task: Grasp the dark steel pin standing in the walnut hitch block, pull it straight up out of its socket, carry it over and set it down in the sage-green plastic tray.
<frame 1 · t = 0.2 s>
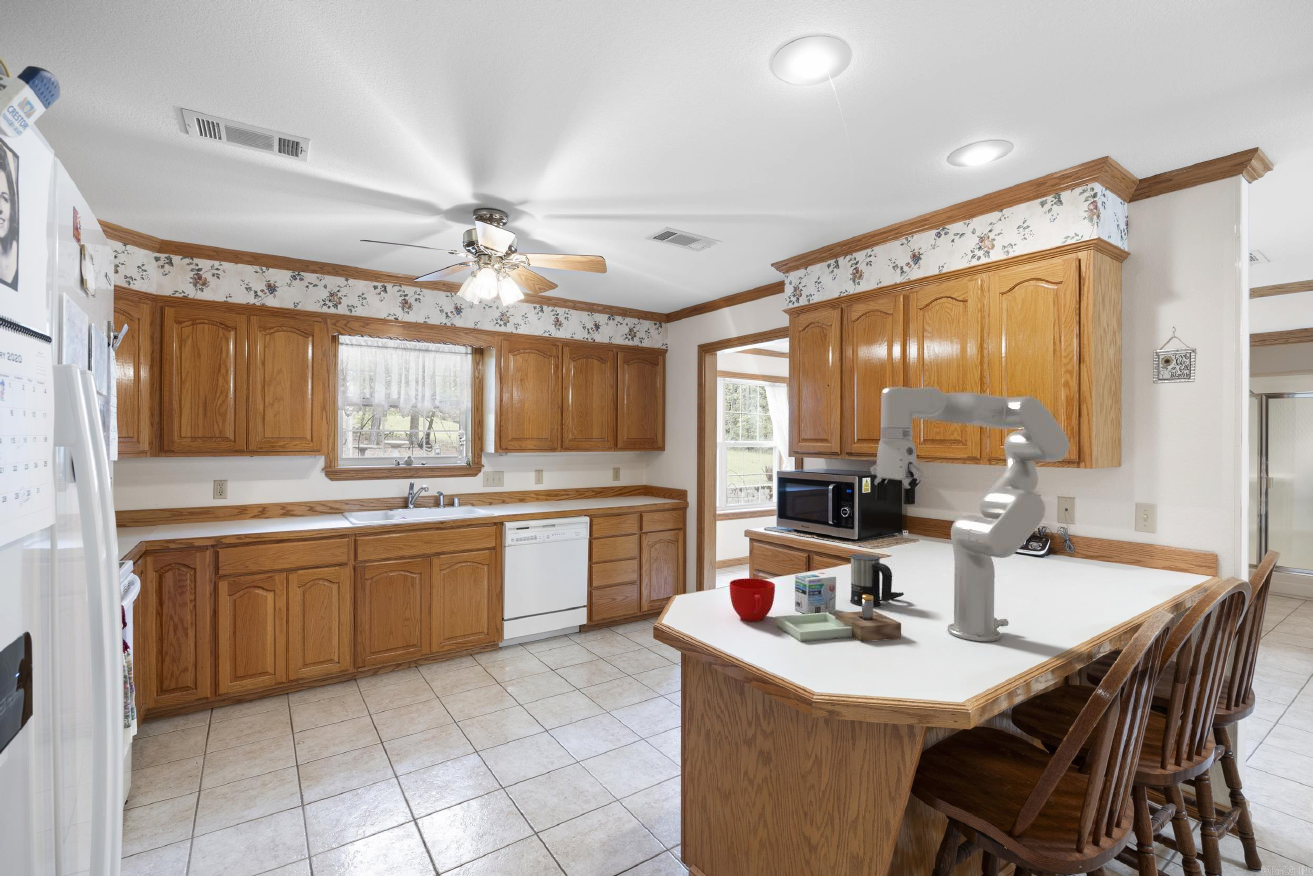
hand: (894, 502, 159), 36 cm above the table, tool pointing down, fingers open, 9 cm apart
hitch block: (867, 633, 165), on the table
ceramic cup: (753, 621, 176), on the table
light bulb box: (815, 611, 186), on the table
pin: (867, 614, 165), in the hitch block
tray: (814, 631, 167), on the table
milk frother: (876, 603, 196), on the table
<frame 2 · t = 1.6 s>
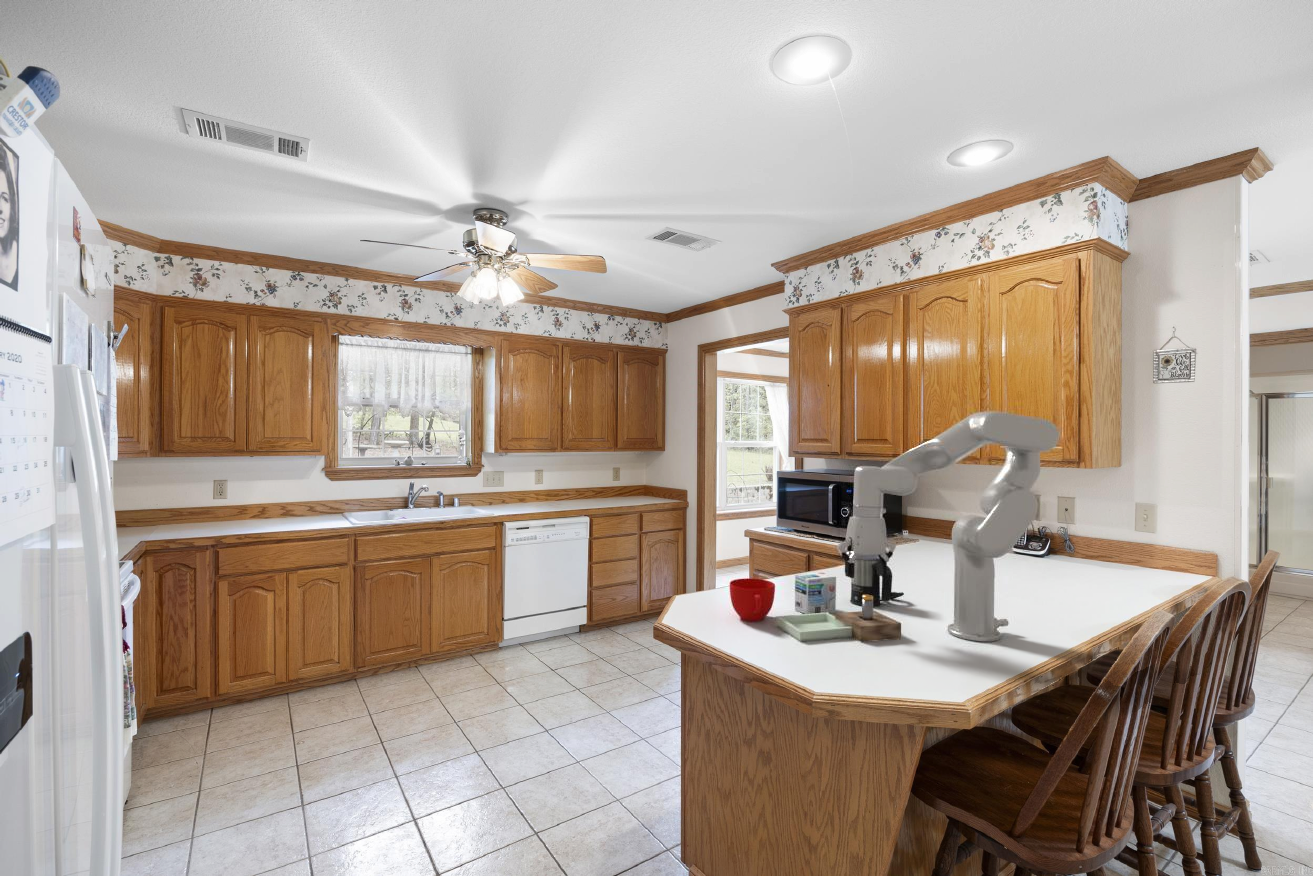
hand: (865, 576, 165), 15 cm above the table, tool pointing down, fingers open, 9 cm apart
nothing on the table moved.
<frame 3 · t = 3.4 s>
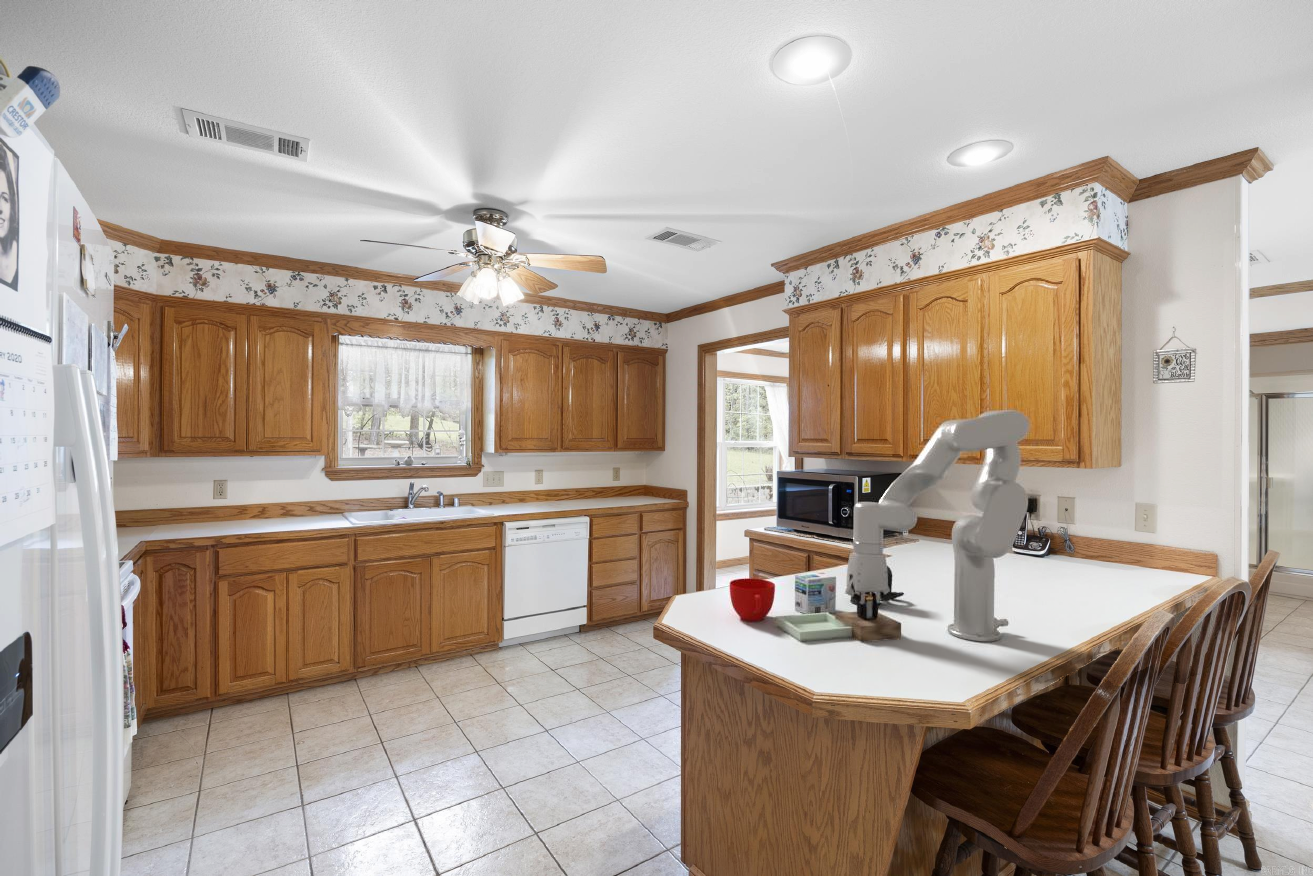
hand: (867, 616, 165), 4 cm above the table, tool pointing down, fingers closed on pin, 2 cm apart
pin: (867, 614, 165), in the hitch block, touching gripper
everything else where it was.
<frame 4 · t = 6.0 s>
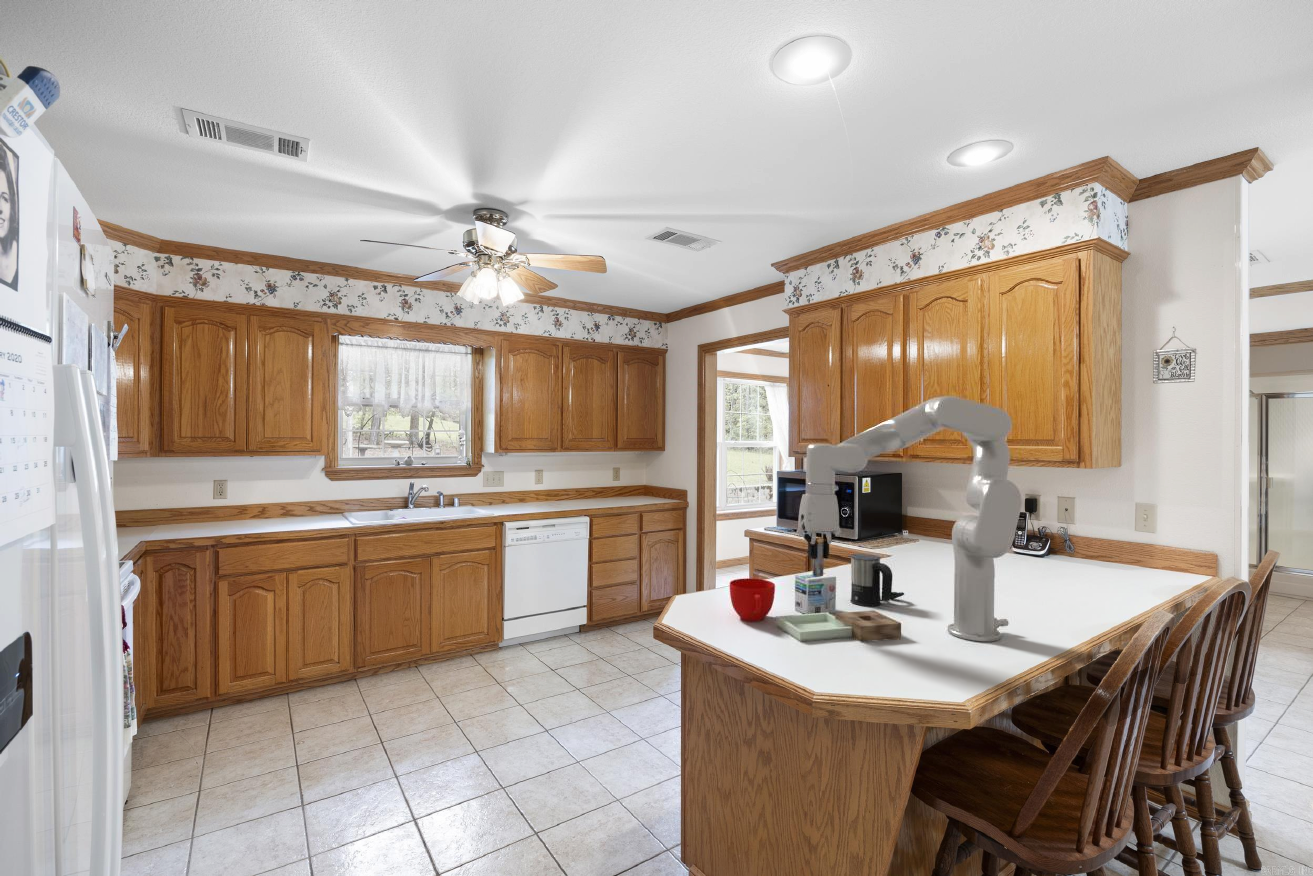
hand: (818, 557, 167), 20 cm above the table, tool pointing down, fingers closed on pin, 2 cm apart
pin: (818, 556, 167), point 20 cm above the table, touching gripper
everything else where it was.
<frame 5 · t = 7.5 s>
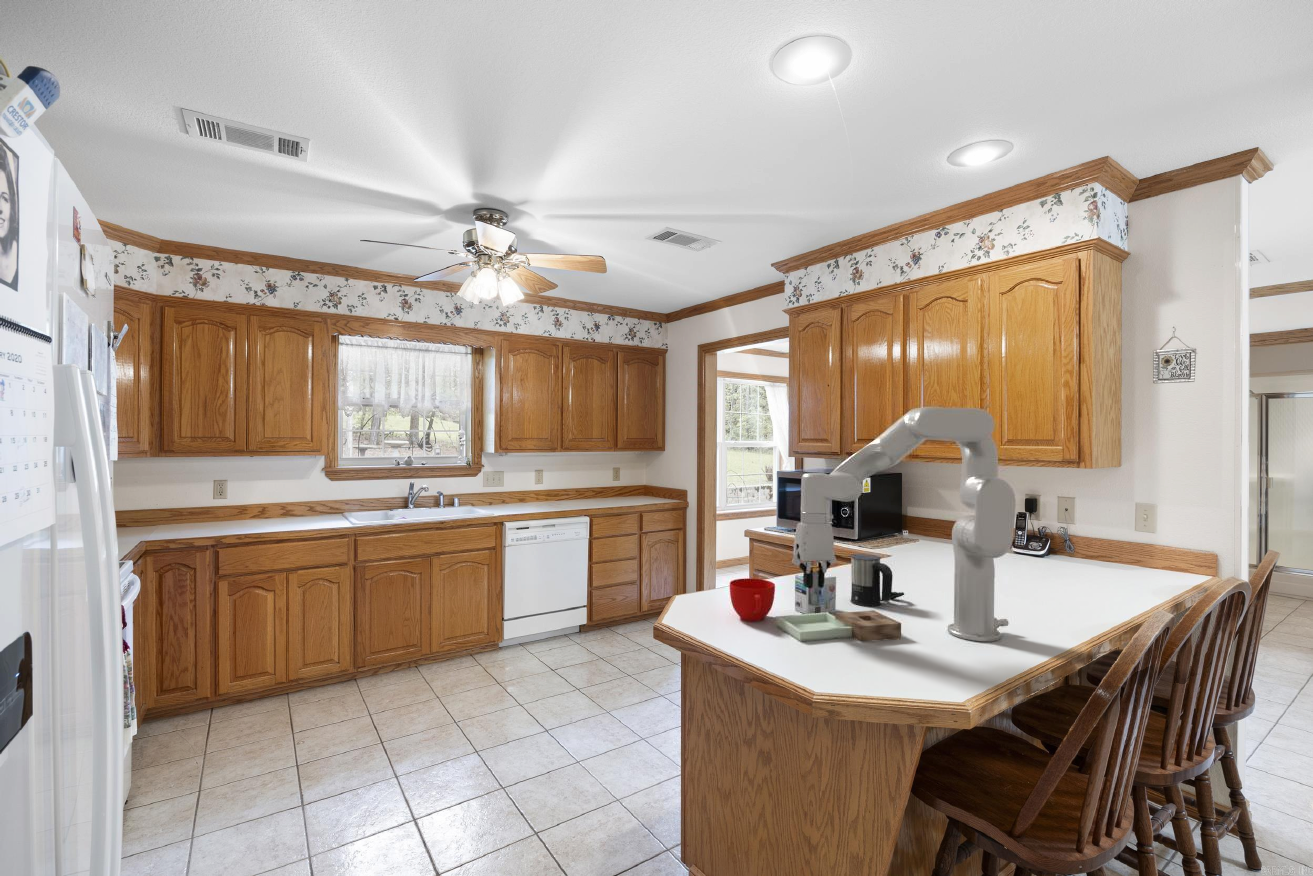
hand: (813, 586, 167), 12 cm above the table, tool pointing down, fingers closed on pin, 2 cm apart
pin: (813, 585, 167), point 12 cm above the table, touching gripper
everything else where it was.
when the fingers open (6 cm above the table, at t = 8.7 s): pin drops 1 cm, resting on tray.
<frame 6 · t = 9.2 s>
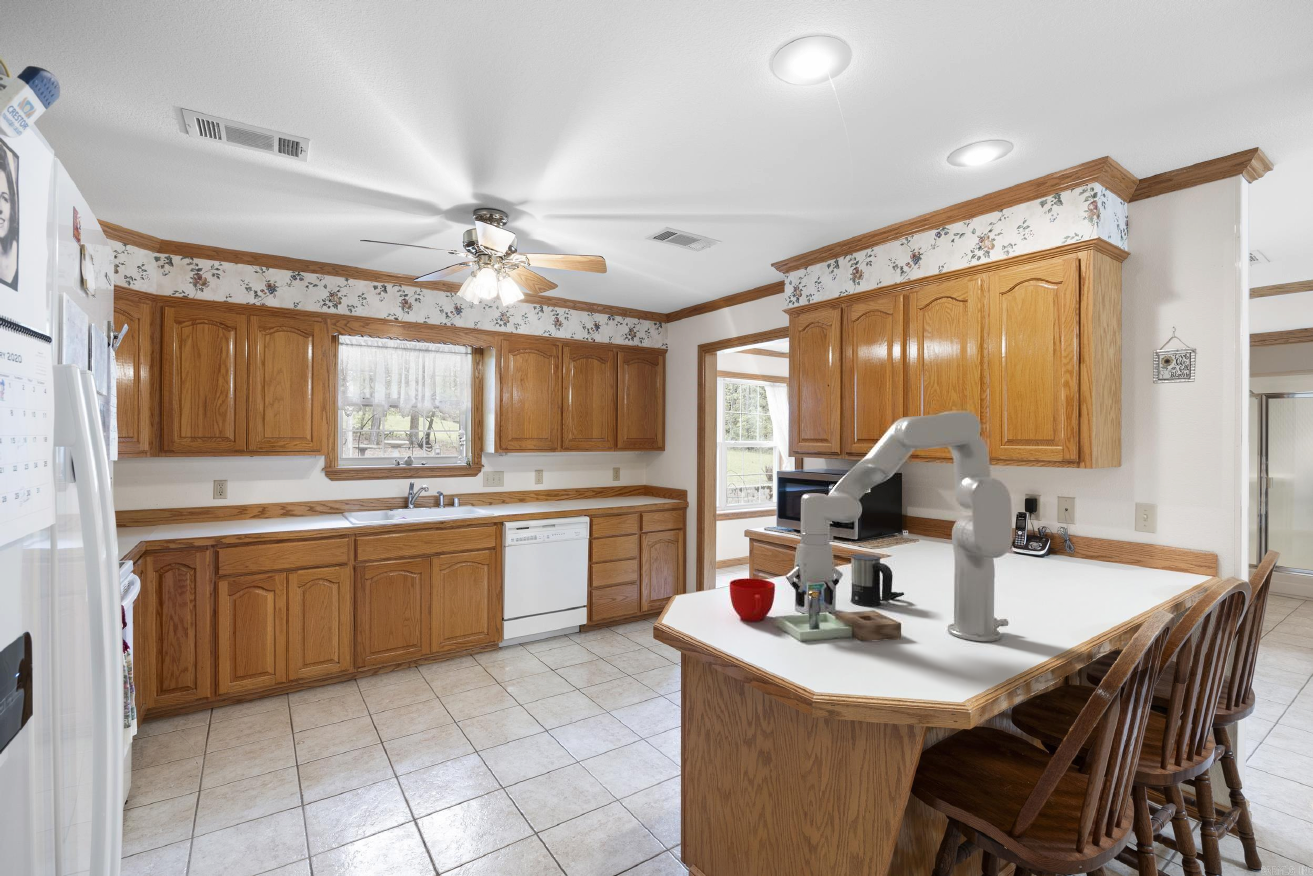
hand: (814, 604, 167), 7 cm above the table, tool pointing down, fingers open, 7 cm apart
pin: (814, 610, 167), in the tray, point 6 cm above the table
everything else where it was.
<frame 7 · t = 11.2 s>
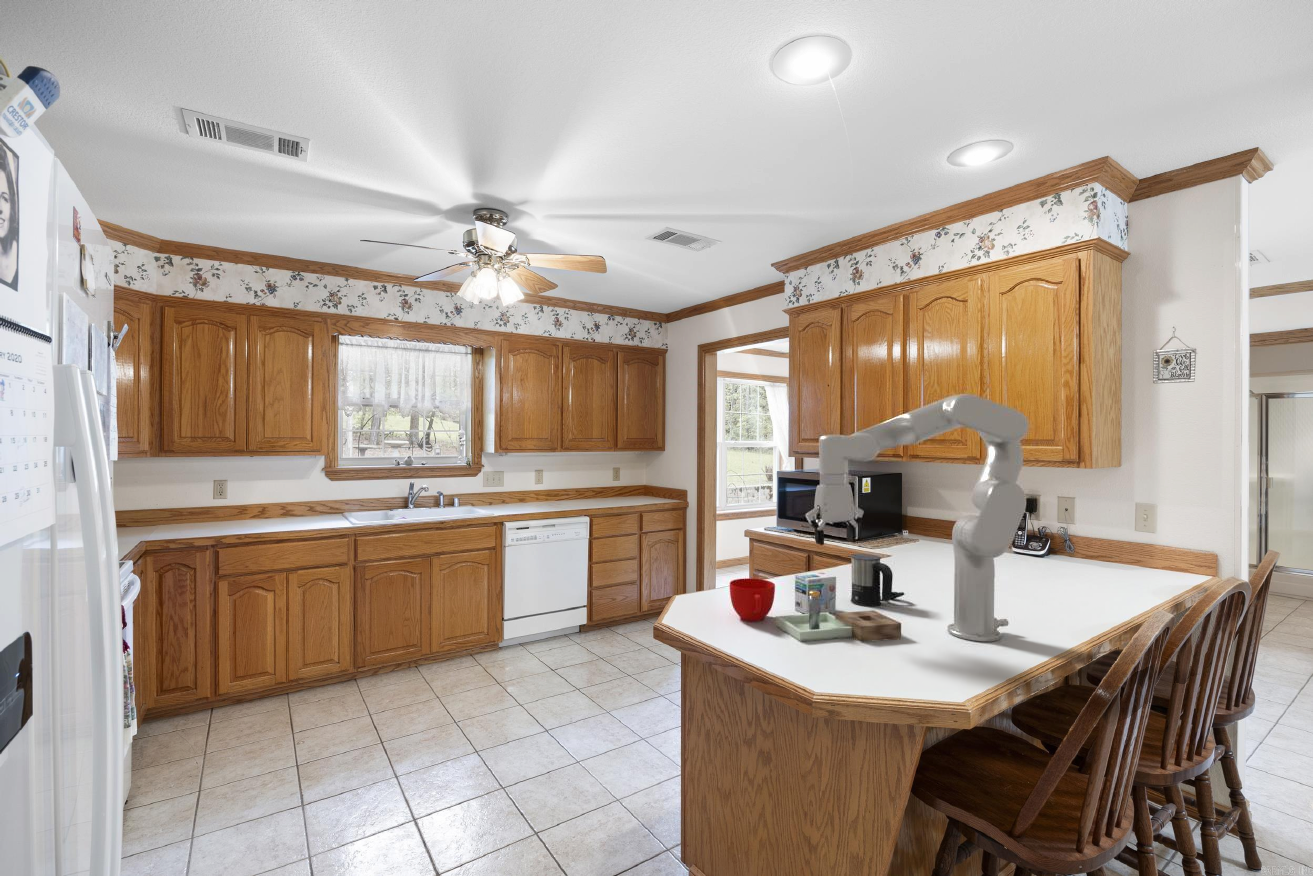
hand: (835, 542, 168), 24 cm above the table, tool pointing down, fingers open, 9 cm apart
nothing on the table moved.
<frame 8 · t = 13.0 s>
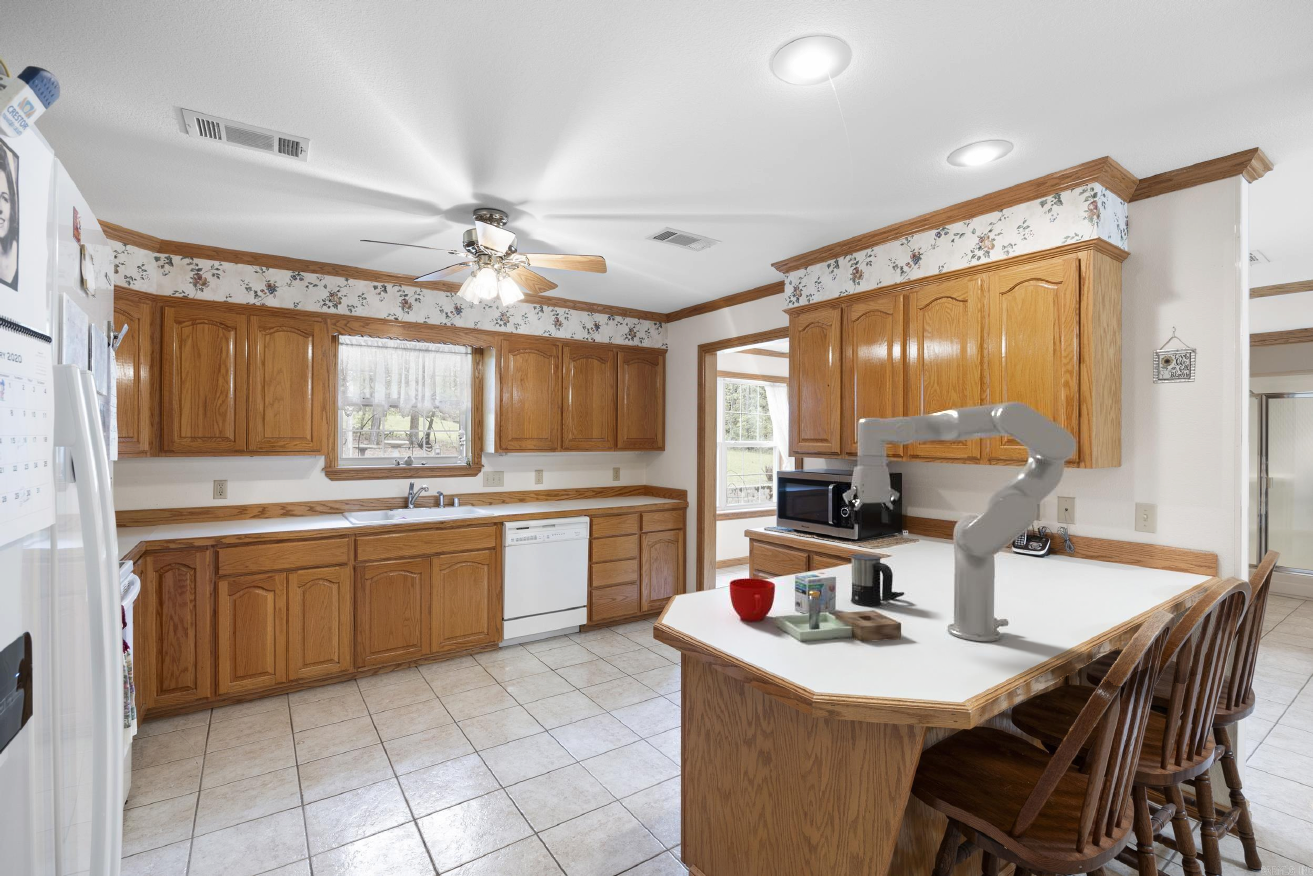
hand: (871, 523, 172), 28 cm above the table, tool pointing down, fingers open, 9 cm apart
nothing on the table moved.
at the end: pin inside the target area on the tray (0.0 cm from its centre), point 5.6 cm above the tray's base; pin touching tray; the gripper is holding nothing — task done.
